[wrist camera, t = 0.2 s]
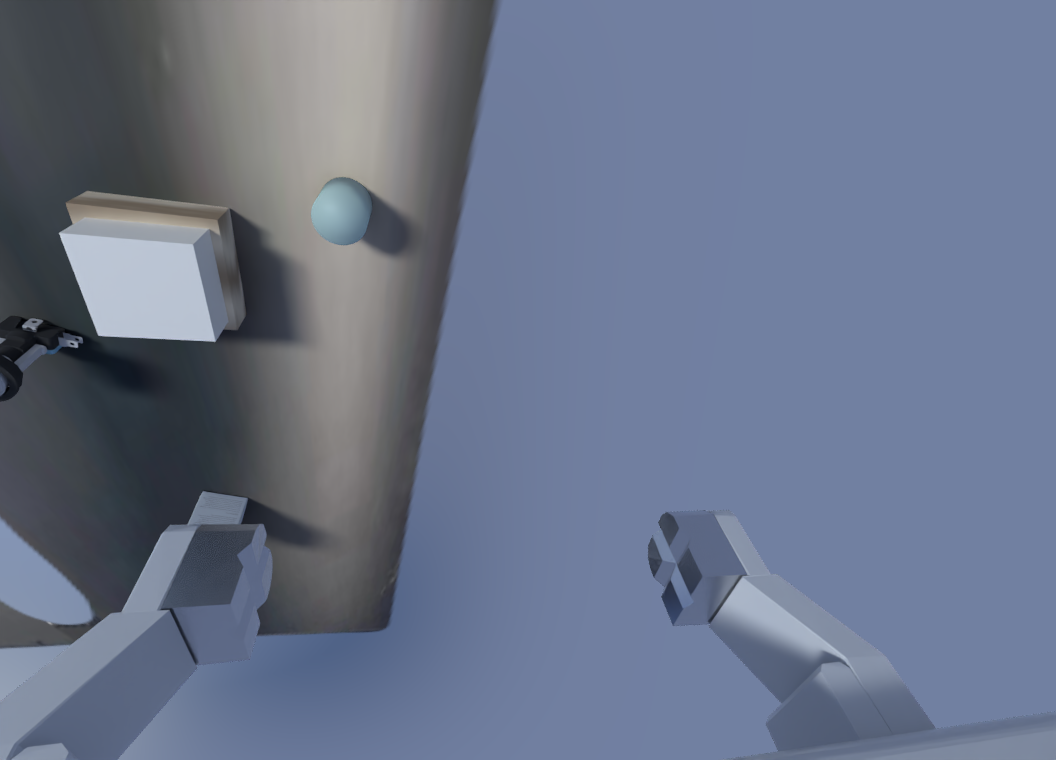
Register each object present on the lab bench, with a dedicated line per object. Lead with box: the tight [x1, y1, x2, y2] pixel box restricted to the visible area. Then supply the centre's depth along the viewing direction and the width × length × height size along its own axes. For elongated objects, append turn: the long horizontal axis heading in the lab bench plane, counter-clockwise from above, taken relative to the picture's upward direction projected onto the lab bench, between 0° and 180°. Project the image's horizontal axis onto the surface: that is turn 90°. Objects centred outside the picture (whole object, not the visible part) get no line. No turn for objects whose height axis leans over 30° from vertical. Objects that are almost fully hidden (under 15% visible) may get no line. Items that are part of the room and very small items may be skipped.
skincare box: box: [188, 491, 248, 525], centre depth 68 cm, size 6×4×12 cm
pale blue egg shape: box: [311, 177, 372, 245], centre depth 49 cm, size 5×5×5 cm
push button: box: [0, 316, 83, 402], centre depth 50 cm, size 7×5×10 cm
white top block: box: [59, 217, 229, 341], centre depth 47 cm, size 10×10×4 cm
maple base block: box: [66, 191, 247, 330], centre depth 50 cm, size 12×12×4 cm
